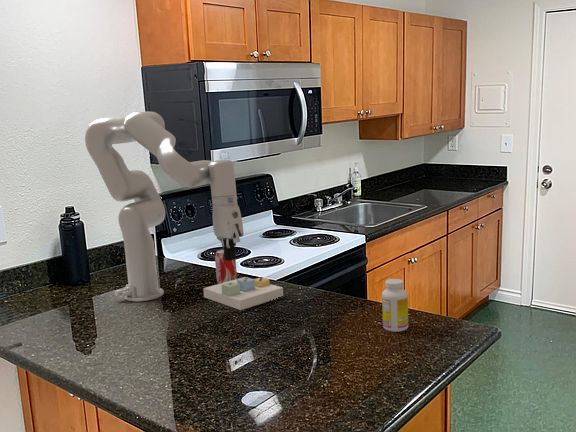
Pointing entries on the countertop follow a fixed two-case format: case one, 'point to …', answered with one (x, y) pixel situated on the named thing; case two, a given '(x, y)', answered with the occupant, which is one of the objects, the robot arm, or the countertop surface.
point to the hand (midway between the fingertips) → (230, 259)
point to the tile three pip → (261, 282)
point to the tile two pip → (246, 284)
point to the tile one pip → (230, 289)
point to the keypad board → (243, 295)
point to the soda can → (224, 268)
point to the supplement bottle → (395, 306)
